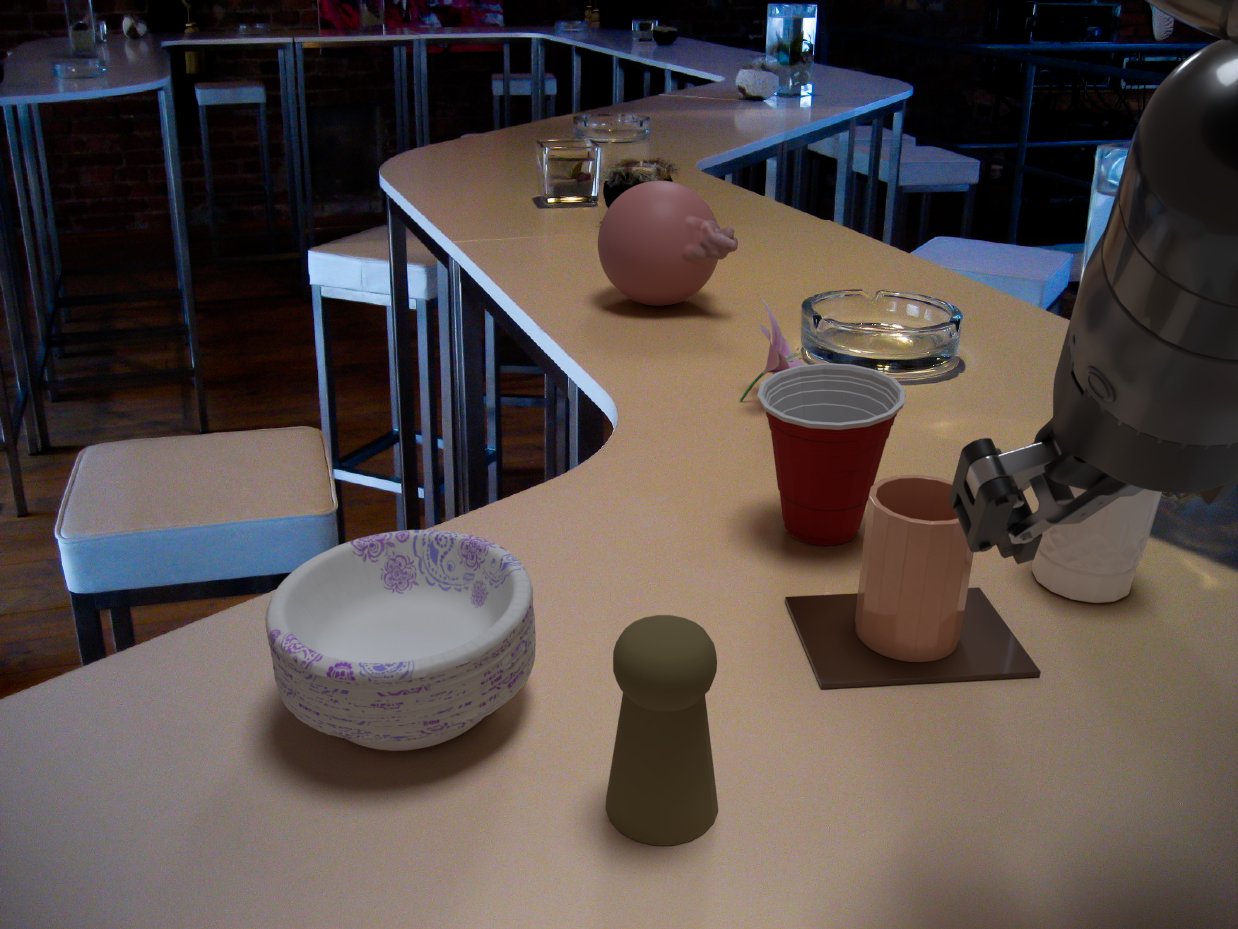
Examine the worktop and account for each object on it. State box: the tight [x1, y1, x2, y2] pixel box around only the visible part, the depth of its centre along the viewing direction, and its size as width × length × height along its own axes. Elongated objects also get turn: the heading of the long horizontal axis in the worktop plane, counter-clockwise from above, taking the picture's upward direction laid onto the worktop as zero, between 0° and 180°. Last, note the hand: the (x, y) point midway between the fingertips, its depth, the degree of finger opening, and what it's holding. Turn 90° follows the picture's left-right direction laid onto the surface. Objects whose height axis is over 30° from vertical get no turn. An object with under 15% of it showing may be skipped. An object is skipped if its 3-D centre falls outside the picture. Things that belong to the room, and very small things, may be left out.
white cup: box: [1031, 486, 1163, 604], centre depth 76 cm, size 8×8×10 cm
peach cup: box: [855, 474, 975, 662], centre depth 70 cm, size 7×7×10 cm
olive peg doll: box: [605, 614, 719, 846], centre depth 56 cm, size 6×6×11 cm
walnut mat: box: [784, 586, 1041, 690], centre depth 72 cm, size 14×10×1 cm
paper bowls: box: [264, 529, 537, 752], centre depth 64 cm, size 15×15×8 cm
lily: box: [739, 295, 806, 402], centre depth 108 cm, size 12×12×10 cm
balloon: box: [597, 180, 739, 307], centre depth 135 cm, size 15×20×15 cm
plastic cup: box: [756, 362, 907, 547], centre depth 83 cm, size 11×11×12 cm
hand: (1108, 514), depth 49 cm, fingers open, 8 cm apart
